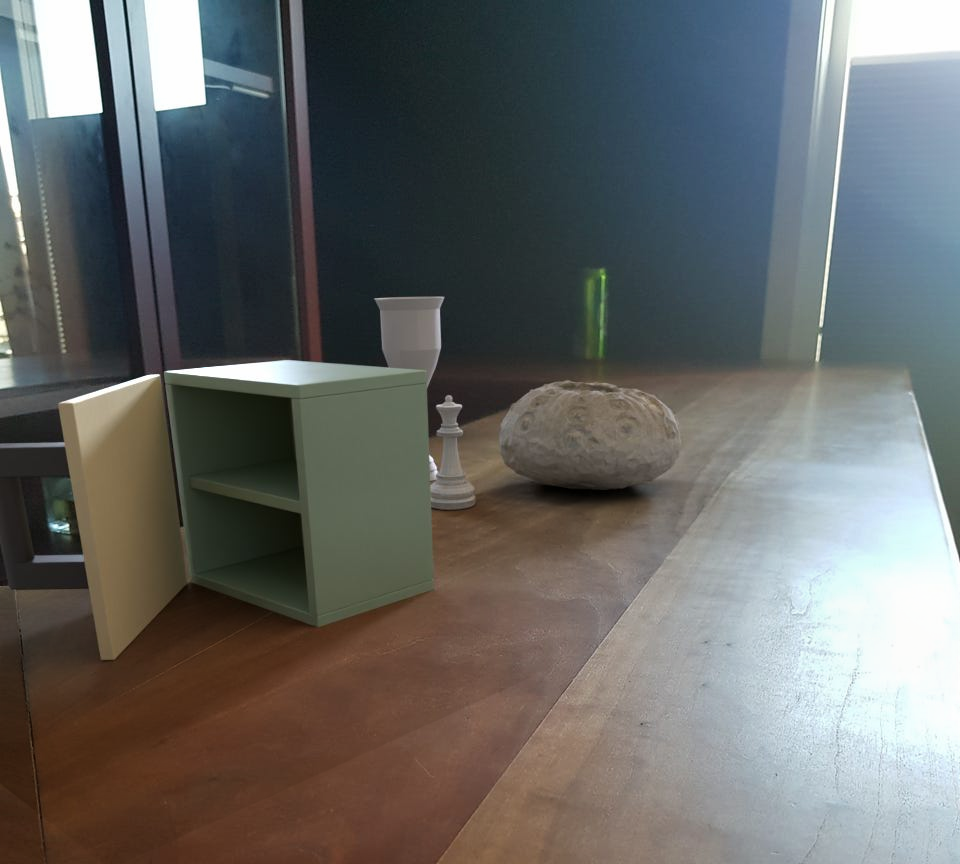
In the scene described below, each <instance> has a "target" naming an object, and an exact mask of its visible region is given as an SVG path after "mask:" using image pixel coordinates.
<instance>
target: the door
mask: <svg viewBox="0 0 960 864" xmlns="http://www.w3.org/2000/svg"><path fill="white" fill-rule="evenodd" d="M161 377H162V376H161V374H148V375H143V376H141V377H138V378H135V379H131V380H128V381H125V382H122V383H119V384H115V385H112V386H109V387H106V388H103V389H99V390H96V391H93V392H90V393H89V392H88V393H86V394H83V395H79V396H77V397H74V398H70V399H67V400H64V401H60V402H57V406H58V412H59V417H60V418H59V420H60V424H61V430H62V436H63V437H62V438H63V441H61V442H60V441H59V442H18V443H17V442H16V443H15V442H13V443H12V442H11V443H10V442H8V443H7V442H5V443H0V549H1V554H2V558H3V564H4V568H5V574H6V579H7V584H8V588H9V589H10V590H12V591H30V590H31V591H39V590H43V591H44V590H48V591H49V590H88V592H89V597H90V603H91V609H92V614H93V621H94V626H95V633H96V640H97V645H98V652H99V657H100V661H115V660H116V659H117V658H118V657H119V656H120V655H121V654H122V652H123V651H125V650H126V649H127V647H128V646H129V645H130V644H131V643H132V642H133V641H134V640H135V639H136V638H137V637H138V635H140V634H141V633H142V632H143V630H144V629H145V628H147V627H148V625H149V624H150V623H151V622H152V621H154V619H155V618H156V617H157V616H158V615H159V614H160V612H161V611H162V610H164V608H165V607H166V606H167V605H168V604H170V602H171V601H172V600H173V599H174V598H175V597H176V596H177V595H178V594H179V593H180V592H181V591H182V589H184V587H186V585H187V584H188V578H187V576H188V575H187V570H186V569H187V568H186V561H185V555H184V553H185V552H184V546H183V539H182V538H183V537H182V531H181V523H180V516H179V508H178V499H177V493H176V485H175V477H174V470H173V462H172V456H171V455H172V454H171V446H170V439H169V431H168V423H167V417H166V407H165V401H164V392H163V385H162V378H161ZM41 477H43V478H46V477H49V478H50V477H51V478H52V477H69V478H70V485H71V491H72V495H73V501H74V509H75V513H76V520H77V525H78V531H79V537H80V543H81V548H82V554H53V555H52V554H49V555H48V554H47V555H35V551H34V546H33V541H32V535H31V531H30V530H31V529H30V524H29V520H28V514H27V513H28V512H27V509H26V503H25V498H24V493H23V492H24V491H23V486H22V482H21V478H41Z"/></svg>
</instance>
